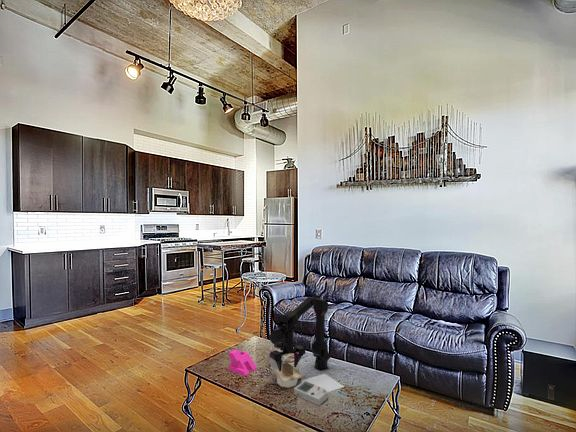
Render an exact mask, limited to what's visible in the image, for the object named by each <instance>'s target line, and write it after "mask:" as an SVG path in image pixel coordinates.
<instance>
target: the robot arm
mask: <svg viewBox="0 0 576 432" xmlns="http://www.w3.org/2000/svg"><path fill="white" fill-rule="evenodd" d="M312 307H313V308H312ZM311 308H312V309H313V311H314V313H315V340H313V341H314V342H312V343H311V350H310V351H311V353H312V355H313V357H315V360H314V363H315V364H314V368H315V369H317V370H318V371H320V372H323V371H325V370H329V369H330V367H328V363H329V360H330V359H331V354H330V353H329V352H328V347H327V346H328V345H327V343H326V342H325V327H326V326H325V325H326V324H325V323H326V321H325V319H326V317H325V316H326V314H327V312H328V311H329V309H328V308H329V302H328V301H327V300H326V299H321V298H318V297H317V298H315V297H312V296H308V297H306V299H305V300H304V301H302V302H301V303H300V304H299V305H298V306H297V307H295V308H294V309H292V310H290V311H287V312H285V313H283V314H282V315H281V318H280V320H279V321H278V323H277V326H276V328H274V329H272V332H270V334H269V340H270V343H272V344H273V346H274V349H276V350H272V351H271V352H270V357H271V358H272V359H273V360H274V361H276V363H277V366H278V369H279V371H281V367H282V360H281V358H282V356H283V357H284V356H287V355H292V354H293V359H294V360H293V368H295V369H296V368H297V366H298V365H299V363H300V360H301V358H302V357H304V355H305V354H306V348H305V347H303V346H302V345H300V344H298V345H295V344H296V341H294V337H295V336H294V335H295V332H294V331H296V330H297V329H298V328H297V327H296V325H297V324H298V322H299V319H300V317H302V316H303V315H304V314H305V313H306V312H308V310H310V309H311ZM294 345H295V346H294ZM279 349H280V350H279ZM278 351H282V352H278Z"/></svg>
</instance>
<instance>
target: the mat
mask: <svg viewBox="0 0 576 432" xmlns="http://www.w3.org/2000/svg"><path fill="white" fill-rule="evenodd" d="M304 380H305V381H307V382H310V383H312V384H315V385H317V386H319V387H321V388H323V389H325V390H326V391H327V392H328V393H329V392H333V391H335V390H339V389H341V388H344V387H345V386H344V385H343V384H341V383H340V382H338V381H336V380H335V379H334V378H332V377H330V376H329V375H327V374H326V373H322V374H319V375H315V376H312V377H311V376H310V377H309V378H304V379H301V380H300V382H301V383H302V382H303V381H304Z"/></svg>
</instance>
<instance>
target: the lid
mask: <svg viewBox="0 0 576 432" xmlns="http://www.w3.org/2000/svg"><path fill="white" fill-rule="evenodd" d="M271 373H272V374H273V375H274V376H276V378H277V377H278V378H279V379H280V380H281V381H282V382H287V381H291V380H294V379H300V378H304V374H303V373H301V372H300V371H299V370H297V369H296V368H295V367H294V365H291V364H290V363H289V362H283V364H282V369H281V371H279V369H278V370H274V371H271Z"/></svg>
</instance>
